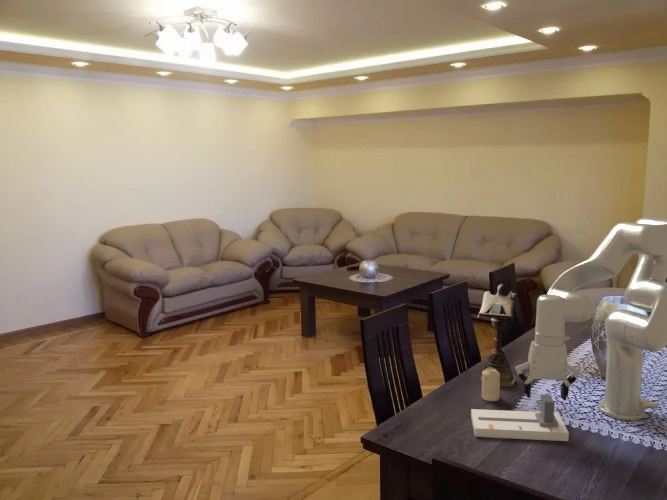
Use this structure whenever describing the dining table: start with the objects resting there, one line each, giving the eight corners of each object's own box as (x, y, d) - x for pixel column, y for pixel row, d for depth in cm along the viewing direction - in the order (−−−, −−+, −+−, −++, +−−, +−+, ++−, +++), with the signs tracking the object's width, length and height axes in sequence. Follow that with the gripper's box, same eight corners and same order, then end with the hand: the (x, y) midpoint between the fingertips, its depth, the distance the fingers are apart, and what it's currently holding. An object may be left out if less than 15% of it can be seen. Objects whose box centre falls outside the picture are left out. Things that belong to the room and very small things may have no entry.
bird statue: (513, 396, 178) (516, 292, 172) (473, 388, 184) (475, 288, 179) (522, 377, 192) (525, 281, 187) (485, 371, 199) (487, 278, 193)
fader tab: (553, 416, 158) (554, 394, 157) (558, 426, 152) (559, 403, 151) (535, 415, 159) (536, 393, 158) (539, 425, 153) (540, 402, 152)
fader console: (557, 420, 161) (557, 412, 161) (568, 441, 149) (568, 432, 149) (471, 416, 165) (471, 408, 164) (475, 436, 153) (475, 428, 153)
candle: (500, 402, 174) (500, 372, 172) (482, 401, 175) (482, 371, 174) (498, 394, 179) (499, 366, 178) (481, 393, 181) (481, 365, 179)
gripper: (578, 336, 154) (573, 393, 156) (514, 333, 156) (511, 389, 159) (586, 345, 146) (581, 404, 149) (519, 341, 149) (516, 400, 152)
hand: (545, 397), depth 154 cm, fingers open, 9 cm apart
